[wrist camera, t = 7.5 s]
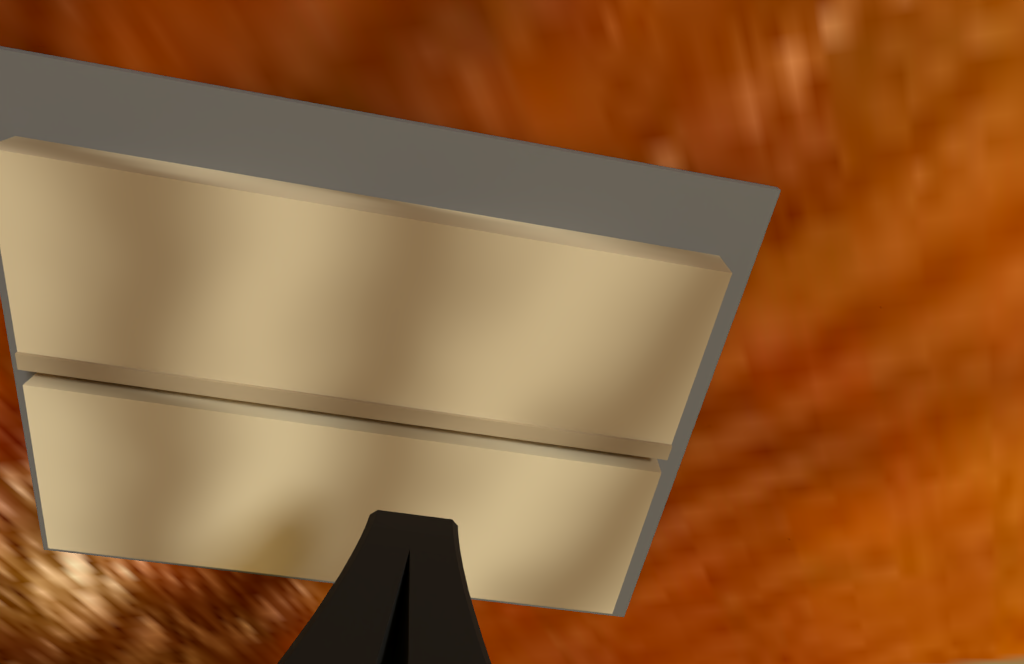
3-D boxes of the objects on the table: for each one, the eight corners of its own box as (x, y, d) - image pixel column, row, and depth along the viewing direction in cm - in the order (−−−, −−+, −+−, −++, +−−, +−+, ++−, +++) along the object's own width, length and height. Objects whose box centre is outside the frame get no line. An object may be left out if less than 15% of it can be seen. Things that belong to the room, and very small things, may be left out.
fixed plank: (45, 347, 20) (17, 371, 19) (15, 135, 17) (-20, 148, 16) (658, 434, 22) (666, 461, 20) (719, 255, 19) (733, 274, 18)
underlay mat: (49, 542, 24) (44, 549, 23) (-34, 39, 16) (-43, 41, 16) (622, 610, 26) (623, 617, 25) (776, 187, 18) (780, 190, 18)
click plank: (69, 521, 23) (48, 548, 22) (48, 363, 20) (22, 384, 19) (607, 585, 25) (612, 613, 24) (653, 448, 22) (661, 472, 21)
